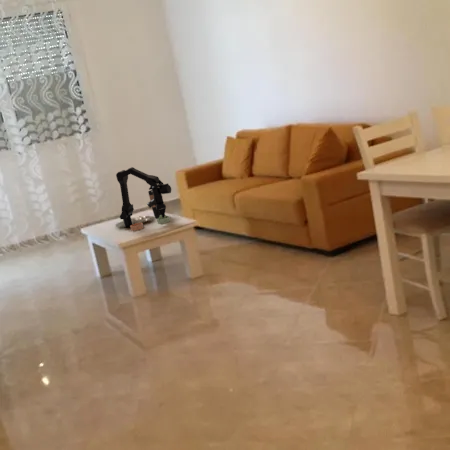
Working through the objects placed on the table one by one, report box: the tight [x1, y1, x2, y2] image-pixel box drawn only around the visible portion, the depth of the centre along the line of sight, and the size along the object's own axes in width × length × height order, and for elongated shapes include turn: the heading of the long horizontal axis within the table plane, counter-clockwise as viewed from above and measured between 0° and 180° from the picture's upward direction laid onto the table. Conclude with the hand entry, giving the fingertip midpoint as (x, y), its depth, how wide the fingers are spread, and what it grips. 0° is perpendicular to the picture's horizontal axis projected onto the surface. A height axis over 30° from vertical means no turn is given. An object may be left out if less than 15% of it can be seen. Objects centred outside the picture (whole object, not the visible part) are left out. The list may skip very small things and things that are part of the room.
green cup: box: [156, 215, 171, 225], centre depth 484 cm, size 8×8×3 cm
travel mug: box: [147, 189, 161, 220], centre depth 499 cm, size 8×8×20 cm
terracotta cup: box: [129, 222, 145, 232], centre depth 481 cm, size 8×8×3 cm
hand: (162, 216), depth 483 cm, fingers open, 9 cm apart
